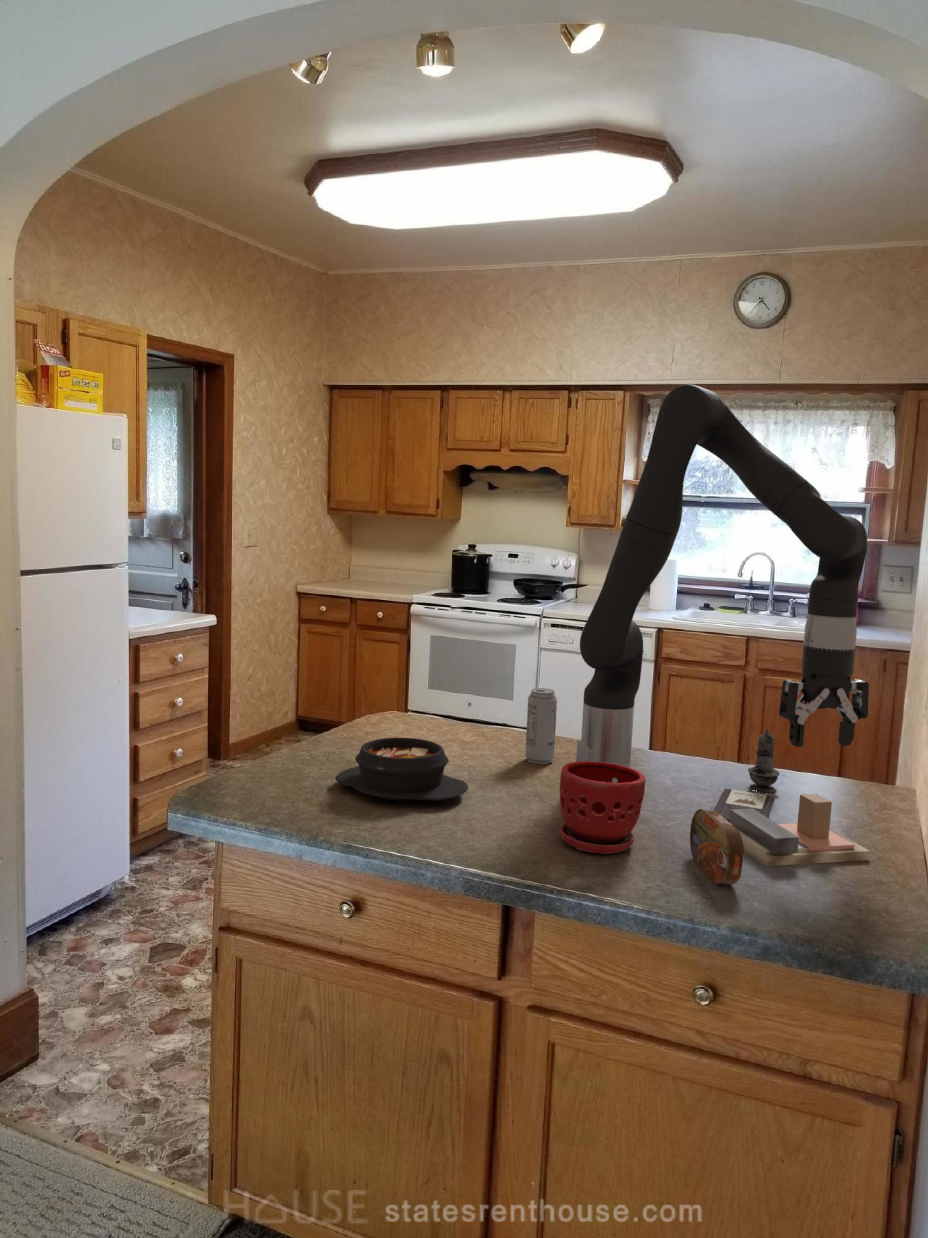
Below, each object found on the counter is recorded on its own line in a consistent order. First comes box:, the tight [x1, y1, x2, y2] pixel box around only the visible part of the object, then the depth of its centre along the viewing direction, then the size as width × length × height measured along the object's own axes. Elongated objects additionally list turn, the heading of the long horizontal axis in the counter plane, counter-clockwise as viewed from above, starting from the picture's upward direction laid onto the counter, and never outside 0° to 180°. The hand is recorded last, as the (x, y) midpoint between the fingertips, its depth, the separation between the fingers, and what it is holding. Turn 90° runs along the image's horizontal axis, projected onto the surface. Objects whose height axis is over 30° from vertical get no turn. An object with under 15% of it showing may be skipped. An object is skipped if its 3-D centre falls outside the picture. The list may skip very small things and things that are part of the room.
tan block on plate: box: [777, 793, 855, 851], centre depth 142 cm, size 8×10×7 cm
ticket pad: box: [730, 809, 870, 867], centre depth 142 cm, size 18×13×4 cm
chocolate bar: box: [712, 788, 775, 822], centre depth 161 cm, size 9×1×18 cm
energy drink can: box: [524, 687, 558, 765], centre depth 185 cm, size 6×6×15 cm
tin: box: [689, 808, 745, 885], centre depth 131 cm, size 15×3×8 cm, turn 5°
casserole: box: [335, 737, 469, 802], centre depth 162 cm, size 25×19×8 cm
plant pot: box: [559, 761, 646, 855], centre depth 140 cm, size 13×13×12 cm
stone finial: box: [747, 728, 781, 795], centre depth 172 cm, size 6×6×12 cm
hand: (820, 745), depth 141 cm, fingers open, 8 cm apart
